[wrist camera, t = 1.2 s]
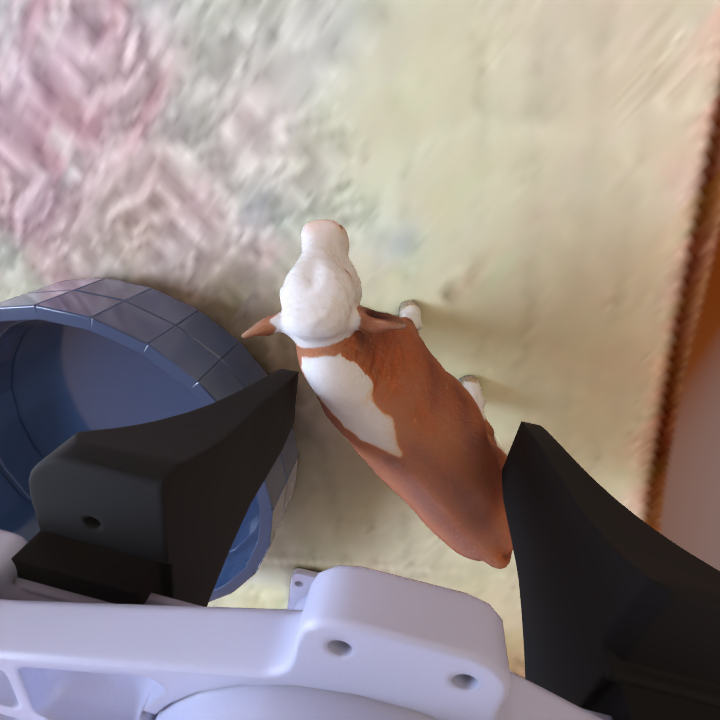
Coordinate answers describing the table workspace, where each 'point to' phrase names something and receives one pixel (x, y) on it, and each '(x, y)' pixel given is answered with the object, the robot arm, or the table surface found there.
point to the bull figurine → (394, 398)
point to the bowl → (120, 390)
